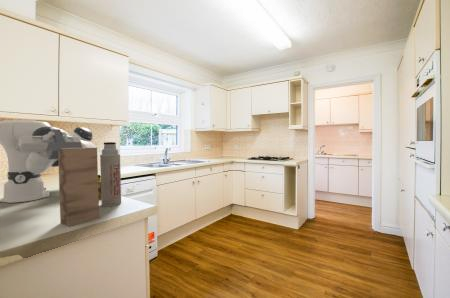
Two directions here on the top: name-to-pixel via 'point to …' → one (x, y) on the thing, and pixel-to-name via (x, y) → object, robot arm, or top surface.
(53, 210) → the top surface
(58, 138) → the brushed metal plate
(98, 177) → the condiment
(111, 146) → the thermos bottle
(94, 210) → the pedestal
